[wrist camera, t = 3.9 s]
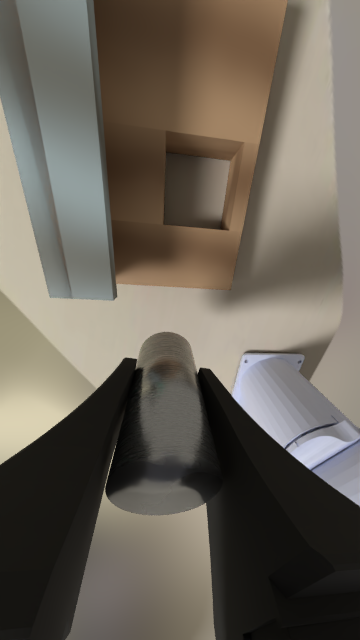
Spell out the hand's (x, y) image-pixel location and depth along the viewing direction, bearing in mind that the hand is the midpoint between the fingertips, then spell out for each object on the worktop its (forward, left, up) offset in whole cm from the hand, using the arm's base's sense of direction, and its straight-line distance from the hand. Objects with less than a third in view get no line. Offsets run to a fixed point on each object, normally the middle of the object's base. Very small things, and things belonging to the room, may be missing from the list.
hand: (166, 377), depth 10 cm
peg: (0, 0, -2) cm, 2 cm away
